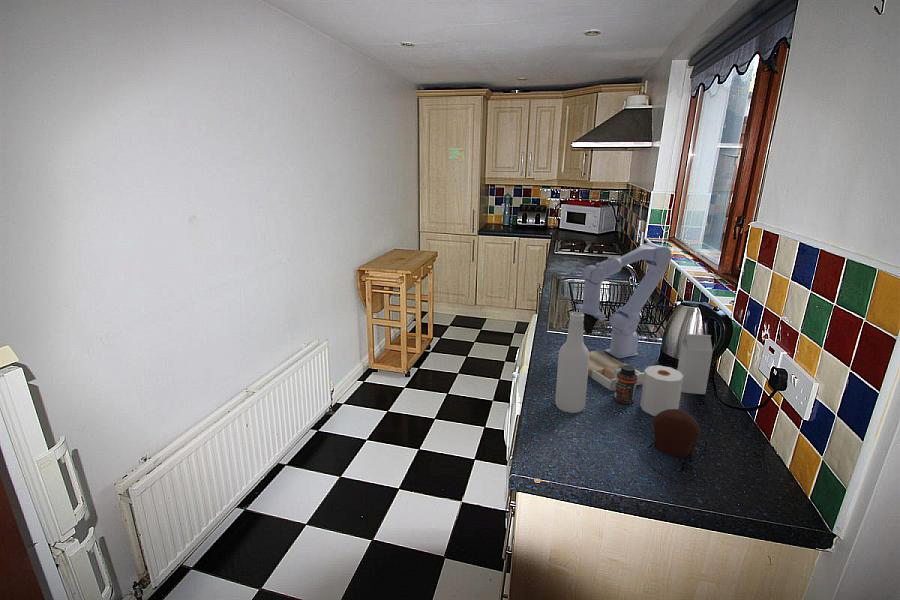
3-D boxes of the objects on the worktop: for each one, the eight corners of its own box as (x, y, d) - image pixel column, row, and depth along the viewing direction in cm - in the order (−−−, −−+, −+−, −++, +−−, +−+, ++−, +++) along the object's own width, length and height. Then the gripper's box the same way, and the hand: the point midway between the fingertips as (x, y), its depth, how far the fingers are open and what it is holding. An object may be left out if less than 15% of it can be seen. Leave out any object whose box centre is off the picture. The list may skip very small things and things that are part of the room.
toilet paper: (683, 409, 135) (689, 373, 132) (667, 422, 129) (673, 384, 125) (650, 396, 143) (655, 362, 139) (634, 408, 136) (638, 372, 132)
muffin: (656, 429, 125) (661, 397, 122) (701, 444, 119) (707, 411, 116) (643, 450, 117) (648, 416, 114) (690, 467, 110) (696, 432, 107)
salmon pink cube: (614, 373, 158) (615, 365, 157) (623, 379, 153) (624, 371, 153) (603, 375, 156) (604, 367, 155) (612, 381, 152) (613, 373, 151)
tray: (624, 371, 160) (625, 361, 159) (645, 383, 151) (646, 372, 150) (591, 378, 155) (592, 367, 154) (611, 391, 146) (612, 380, 145)
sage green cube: (625, 367, 152) (631, 370, 149) (623, 379, 153) (629, 383, 151) (614, 369, 151) (620, 373, 148) (612, 381, 152) (619, 385, 149)
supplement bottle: (612, 402, 140) (616, 369, 136) (615, 393, 145) (619, 361, 141) (633, 406, 137) (637, 373, 134) (635, 397, 142) (639, 365, 139)
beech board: (598, 356, 172) (599, 350, 172) (624, 371, 160) (625, 364, 159) (568, 361, 168) (568, 355, 167) (591, 378, 155) (592, 371, 154)
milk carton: (705, 394, 143) (715, 339, 138) (681, 392, 145) (689, 338, 139) (698, 384, 150) (707, 331, 144) (675, 382, 151) (683, 330, 146)
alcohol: (571, 396, 143) (578, 307, 134) (591, 409, 135) (599, 316, 127) (549, 403, 140) (554, 311, 131) (567, 416, 132) (575, 320, 123)
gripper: (570, 294, 170) (568, 327, 174) (595, 305, 157) (591, 341, 161) (586, 292, 172) (583, 325, 176) (611, 302, 159) (608, 338, 163)
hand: (588, 332), depth 169 cm, fingers closed
